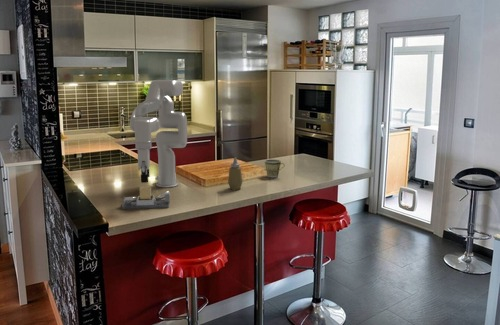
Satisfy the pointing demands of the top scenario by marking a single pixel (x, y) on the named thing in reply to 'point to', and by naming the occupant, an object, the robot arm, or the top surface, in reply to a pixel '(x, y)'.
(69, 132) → the top surface
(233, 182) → the squeeze bottle
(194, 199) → the top surface
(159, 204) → the shaft mount
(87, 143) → the top surface
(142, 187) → the beige rectangular block
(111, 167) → the top surface
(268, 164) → the ceramic cup
